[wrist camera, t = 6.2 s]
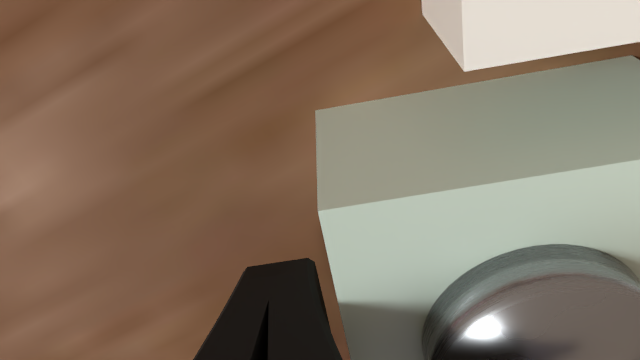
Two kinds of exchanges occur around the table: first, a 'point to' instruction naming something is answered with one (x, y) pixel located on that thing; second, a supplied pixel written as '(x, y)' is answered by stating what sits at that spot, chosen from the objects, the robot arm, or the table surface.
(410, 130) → the block
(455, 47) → the housing bay
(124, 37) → the table surface
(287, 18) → the table surface
